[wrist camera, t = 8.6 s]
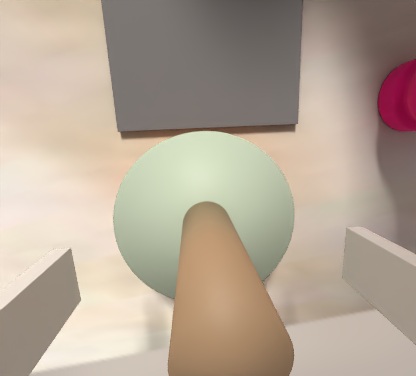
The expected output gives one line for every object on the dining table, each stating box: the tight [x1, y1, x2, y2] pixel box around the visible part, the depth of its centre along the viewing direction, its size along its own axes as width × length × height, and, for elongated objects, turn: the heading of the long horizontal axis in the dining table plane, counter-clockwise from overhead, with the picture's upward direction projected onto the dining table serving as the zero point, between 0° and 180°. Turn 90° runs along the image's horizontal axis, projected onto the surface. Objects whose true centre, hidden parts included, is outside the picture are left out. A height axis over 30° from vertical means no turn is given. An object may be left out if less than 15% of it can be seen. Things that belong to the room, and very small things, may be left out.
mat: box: [101, 0, 303, 132], centre depth 18 cm, size 16×16×1 cm
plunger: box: [113, 131, 294, 376], centre depth 11 cm, size 13×13×11 cm
